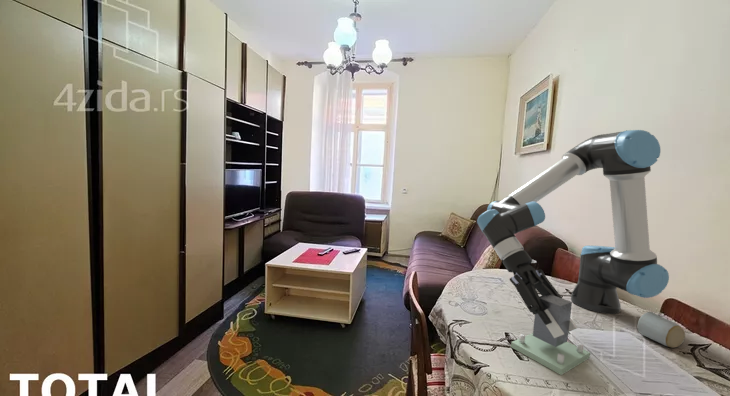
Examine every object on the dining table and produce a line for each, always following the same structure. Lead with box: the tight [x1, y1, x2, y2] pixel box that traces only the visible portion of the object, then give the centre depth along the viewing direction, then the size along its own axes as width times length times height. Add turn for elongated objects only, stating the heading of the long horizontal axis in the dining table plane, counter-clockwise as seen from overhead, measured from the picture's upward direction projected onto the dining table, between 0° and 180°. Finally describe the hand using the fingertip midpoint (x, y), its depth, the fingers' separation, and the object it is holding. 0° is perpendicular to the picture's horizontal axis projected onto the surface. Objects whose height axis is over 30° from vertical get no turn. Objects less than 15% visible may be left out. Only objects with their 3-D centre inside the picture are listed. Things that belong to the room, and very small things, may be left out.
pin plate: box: [510, 332, 591, 376], centre depth 81 cm, size 15×13×4 cm
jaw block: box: [532, 294, 573, 347], centre depth 81 cm, size 6×6×11 cm
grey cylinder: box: [637, 311, 686, 349], centre depth 90 cm, size 11×8×8 cm
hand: (565, 333), depth 78 cm, fingers closed on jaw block, 6 cm apart
